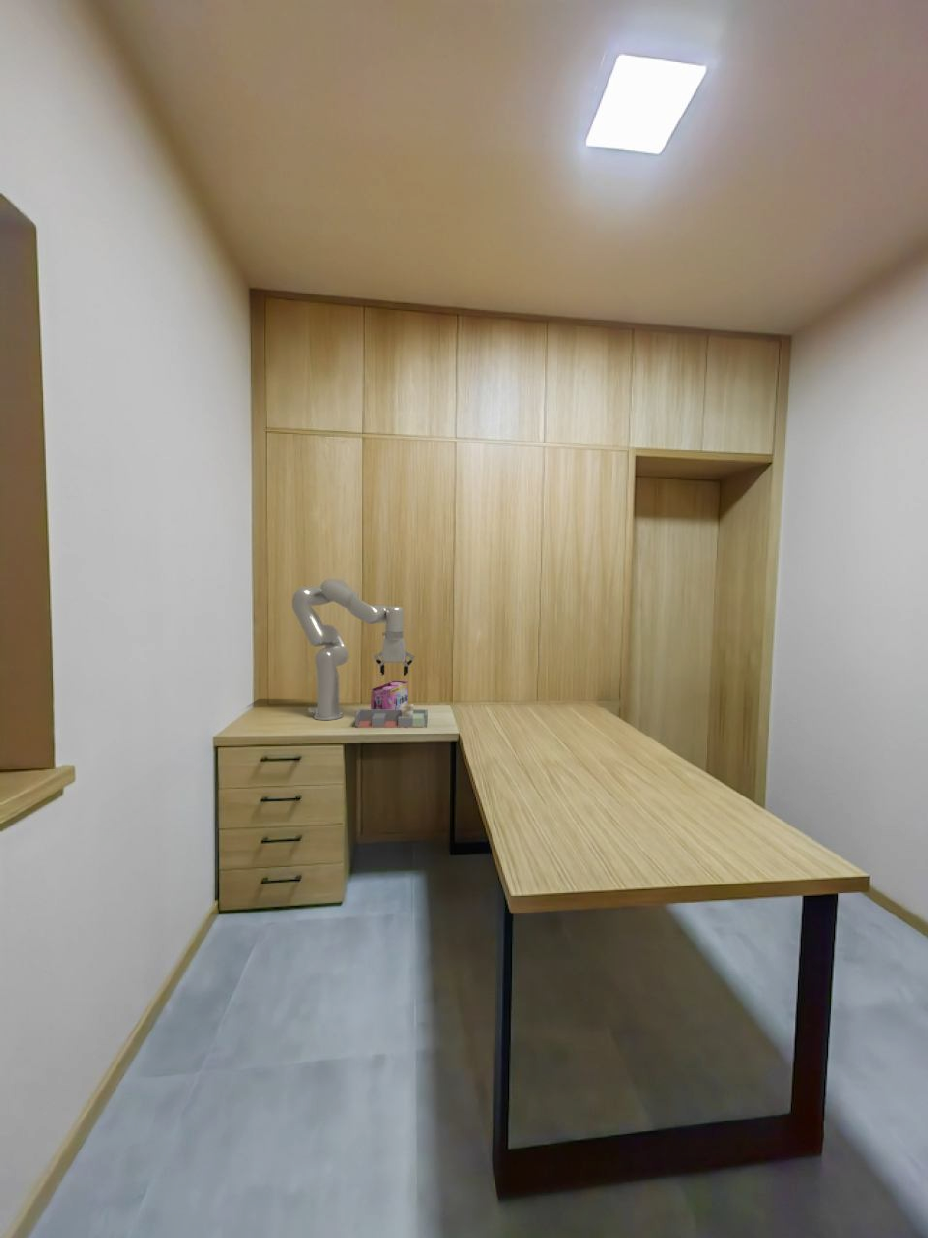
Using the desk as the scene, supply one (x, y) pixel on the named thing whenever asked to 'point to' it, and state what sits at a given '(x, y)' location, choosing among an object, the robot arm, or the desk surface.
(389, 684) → the gum box
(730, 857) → the desk surface
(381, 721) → the track
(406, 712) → the cream block
